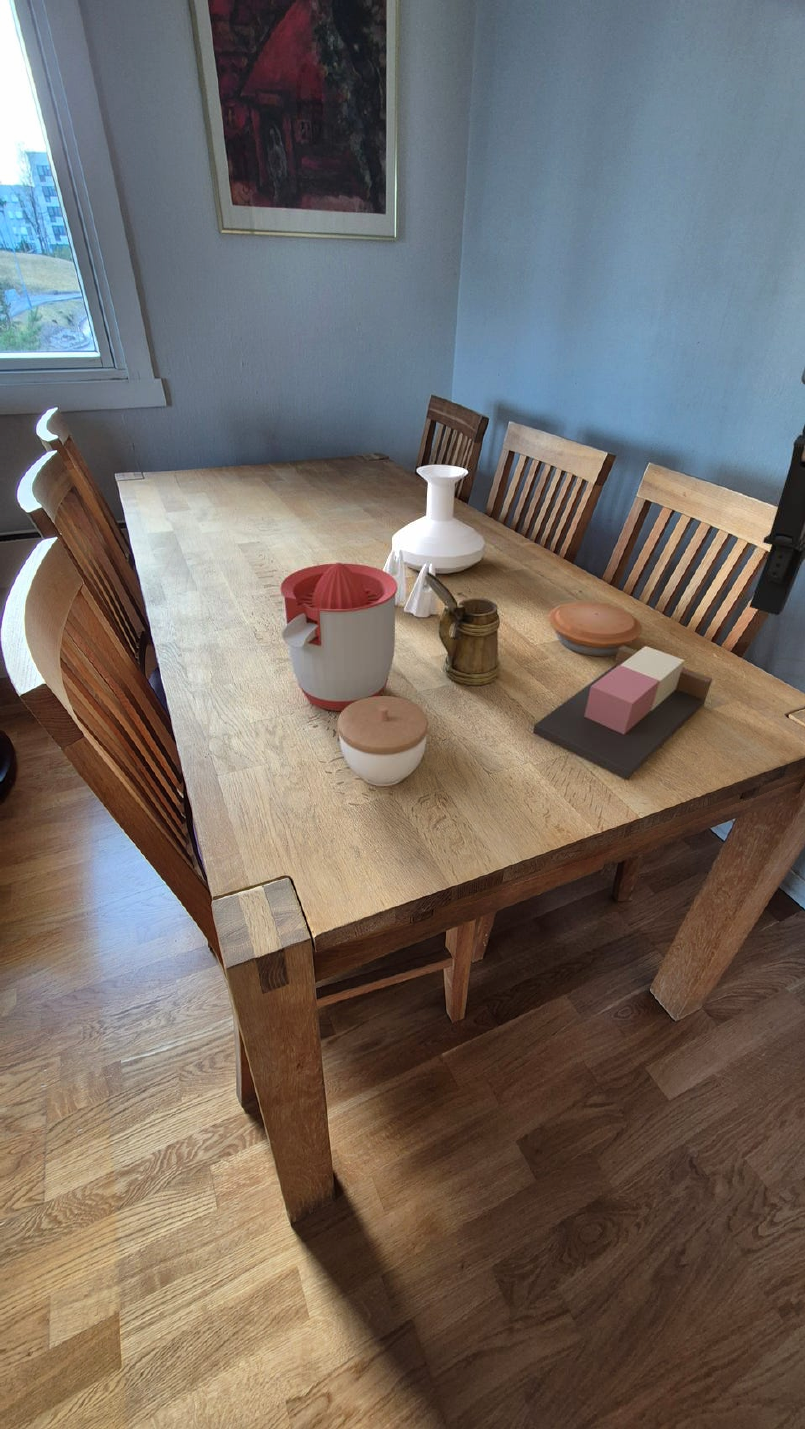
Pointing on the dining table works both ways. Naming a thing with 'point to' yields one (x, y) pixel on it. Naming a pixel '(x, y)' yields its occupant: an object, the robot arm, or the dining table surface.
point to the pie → (594, 627)
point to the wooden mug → (468, 637)
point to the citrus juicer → (340, 631)
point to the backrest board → (637, 743)
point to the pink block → (621, 699)
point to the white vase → (439, 528)
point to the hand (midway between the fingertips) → (765, 608)
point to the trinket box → (382, 738)
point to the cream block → (657, 670)
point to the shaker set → (421, 594)
